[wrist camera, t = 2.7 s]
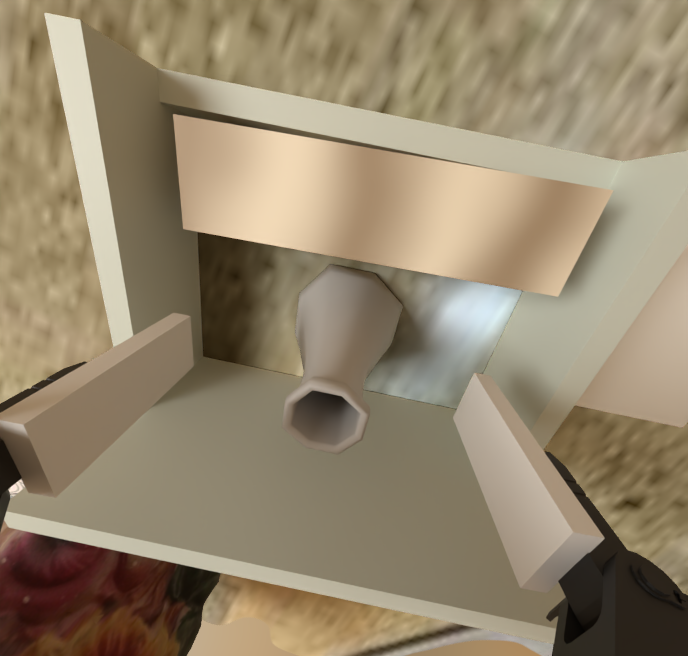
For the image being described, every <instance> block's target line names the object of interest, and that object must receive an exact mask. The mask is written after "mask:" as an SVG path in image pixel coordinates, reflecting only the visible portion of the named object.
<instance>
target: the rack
mask: <svg viewBox="0 0 688 656" xmlns="http://www.w3.org/2000/svg"><path fill="white" fill-rule="evenodd" d="M44 14H45V19H46V24H47V28H48V33H49V38H50V43H51V48H52V52H53V57H54V62H55V67H56V72H57V77H58V81H59V86H60V91H61V96H62V101H63V106H64V110H65V115H66V120H67V125H68V130H69V134H70V139H71V144H72V149H73V154H74V159H75V163H76V168H77V173H78V178H79V183H80V188H81V192H82V197H83V202H84V207H85V212H86V216H87V221H88V226H89V231H90V236H91V241H92V245H93V250H94V255H95V260H96V265H97V270H98V274H99V279H100V284H101V289H102V294H103V298H104V303H105V308H106V313H107V318H108V323H109V327H110V332H111V337H112V342H113V347H115V346H117V345H119V344H120V343H122V342H124V341H126V340H127V339H129V338H131V337H132V336H134V335H136V334H138V333H139V332H141V331H143V330H145V329H146V328H148V327H150V326H151V325H153V324H155V323H157V322H158V321H160V320H162V319H164V318H165V317H167V316H169V315H171V314H172V313H178V314H183V315H188V316H190V317H191V332H192V346H193V361H194V367H193V368H192V369H190V370H189V371H188V372H187V373H186V374H185V375H184V376H183V377H182V378H181V379H180V380H179V381H178V382H177V383H176V384H175V385H174V386H173V387H172V388H171V389H170V390H168V391H167V392H166V393H165V394H164V395H163V396H162V397H161V398H160V399H159V400H158V401H157V402H156V403H155V404H154V405H153V406H152V407H151V408H150V409H149V410H147V411H146V412H145V413H144V414H143V415H142V416H141V417H140V418H139V419H138V420H137V421H136V422H135V423H134V424H133V425H132V426H131V427H130V428H129V429H128V430H127V431H125V432H124V433H123V434H122V435H121V436H120V437H119V438H118V439H117V440H116V441H115V442H114V443H113V444H112V445H111V446H110V447H109V448H108V449H107V450H106V451H105V452H103V453H102V454H101V455H100V456H99V457H98V458H97V459H96V460H95V461H94V462H93V463H92V464H91V465H90V466H89V467H88V468H87V469H86V470H85V471H84V472H82V473H81V474H80V475H79V476H78V477H77V478H76V479H75V480H74V481H73V482H72V483H71V484H70V485H69V486H68V487H67V488H66V489H65V490H64V491H63V492H62V493H60V494H59V495H58V496H57V497H56V498H52V497H47V496H42V495H37V494H32V493H28V491H27V489H26V488H24V489H22V490H21V491H20V492H19V493H17V494H16V495H15V496H14V497H13V498H11V499H10V501H9V505H8V508H7V511H6V515H5V518H4V521H5V522H6V524H7V526H8V527H9V528H13V529H18V530H22V531H27V532H32V533H36V534H41V535H46V536H50V537H55V538H60V539H64V540H69V541H74V542H78V543H83V544H88V545H92V546H97V547H102V548H106V549H111V550H116V551H120V552H125V553H130V554H134V555H139V556H144V557H148V558H153V559H158V560H162V561H167V562H172V563H176V564H181V565H186V566H190V567H195V568H200V569H204V570H209V571H214V572H218V573H223V574H228V575H233V576H237V577H242V578H247V579H251V580H256V581H261V582H265V583H270V584H275V585H279V586H284V587H289V588H293V589H298V590H303V591H307V592H312V593H317V594H321V595H326V596H331V597H335V598H340V599H345V600H349V601H354V602H359V603H363V604H368V605H373V606H377V607H382V608H387V609H391V610H396V611H401V612H405V613H410V614H415V615H419V616H424V617H429V618H433V619H438V620H443V621H447V622H452V623H457V624H461V625H466V626H471V627H475V628H480V629H485V630H489V631H494V632H499V633H503V634H508V635H513V636H517V637H522V638H527V639H531V640H536V641H541V642H545V643H550V644H554V640H555V633H556V627H557V621H558V616H557V617H556V618H554V619H553V620H552V621H551V622H550V621H549V620H548V619H547V618H546V616H547V615H548V613H549V611H551V610H552V609H553V608H554V607H555V606H556V605H557V604H559V603H560V602H561V601H562V600H563V599H564V598H565V597H566V596H565V594H564V592H563V590H562V588H561V586H560V584H559V582H558V583H557V584H556V585H555V586H554V587H553V588H552V589H551V590H550V591H549V592H548V593H543V592H538V591H533V590H527V589H522V588H520V587H519V584H518V581H517V579H516V576H515V574H514V571H513V569H512V566H511V564H510V561H509V559H508V556H507V554H506V551H505V548H504V546H503V543H502V541H501V538H500V536H499V533H498V531H497V528H496V526H495V523H494V521H493V518H492V515H491V513H490V510H489V508H488V505H487V503H486V500H485V498H484V495H483V493H482V490H481V488H480V485H479V482H478V480H477V477H476V475H475V472H474V470H473V467H472V465H471V462H470V460H469V457H468V455H467V452H466V450H465V447H464V444H463V442H462V439H461V437H460V434H459V432H458V429H457V427H456V424H455V422H454V419H453V416H454V414H455V412H456V410H457V409H452V408H447V407H442V406H438V405H433V404H428V403H423V402H418V401H414V400H409V399H404V398H399V397H394V396H390V395H385V394H380V393H375V392H370V391H366V390H363V400H364V401H365V402H366V403H367V404H368V405H369V407H370V416H369V419H368V423H367V426H366V430H365V433H364V436H363V440H361V441H360V442H358V443H356V444H355V445H353V446H351V447H350V448H348V449H346V450H344V451H343V452H341V453H339V454H333V453H328V452H324V451H319V450H314V449H309V448H305V447H304V446H303V445H302V444H301V443H299V442H298V441H297V440H296V439H295V438H293V437H292V436H291V435H290V434H289V433H287V432H286V431H285V430H284V429H282V421H283V413H284V404H285V400H286V397H287V396H288V395H289V394H290V393H291V392H293V391H294V390H295V389H297V388H298V387H299V386H300V384H301V381H302V378H303V377H298V376H294V375H289V374H284V373H279V372H274V371H270V370H265V369H260V368H255V367H250V366H246V365H241V364H236V363H231V362H226V361H222V360H217V359H212V358H207V357H203V341H202V319H201V297H200V275H199V254H198V232H197V231H191V230H186V229H183V221H182V210H181V199H180V187H179V176H178V165H177V153H176V142H175V131H174V120H173V114H176V115H182V116H187V117H193V118H199V119H205V120H211V121H216V122H222V123H228V124H234V125H239V126H245V127H251V128H257V129H263V130H268V131H274V132H280V133H286V134H291V135H297V136H303V137H309V138H315V139H320V140H326V141H332V142H338V143H343V144H349V145H355V146H361V147H367V148H372V149H378V150H384V151H390V152H395V153H401V154H407V155H413V156H419V157H424V158H430V159H436V160H442V161H447V162H453V163H459V164H465V165H471V166H476V167H482V168H488V169H494V170H499V171H505V172H511V173H517V174H523V175H528V176H534V177H540V178H546V179H551V180H557V181H563V182H569V183H575V184H580V185H586V186H592V187H598V188H603V189H609V190H614V191H613V193H612V195H611V197H610V198H609V200H608V202H607V204H606V206H605V208H604V210H603V212H602V214H601V216H600V218H599V219H598V221H597V223H596V225H595V227H594V229H593V231H592V233H591V235H590V237H589V239H588V241H587V242H586V244H585V246H584V248H583V250H582V252H581V254H580V256H579V258H578V260H577V262H576V264H575V265H574V267H573V269H572V271H571V273H570V275H569V277H568V279H567V281H566V283H565V285H564V287H563V288H562V290H561V292H560V294H559V296H558V297H556V296H551V295H545V294H540V293H534V292H529V291H523V292H522V294H521V296H520V298H519V300H518V302H517V304H516V307H515V309H514V311H513V313H512V315H511V317H510V319H509V321H508V323H507V325H506V327H505V329H504V331H503V333H502V335H501V337H500V340H499V342H498V344H497V346H496V348H495V350H494V352H493V354H492V356H491V358H490V360H489V362H488V364H487V366H486V368H485V370H484V373H483V374H485V375H490V376H491V377H492V378H493V380H494V381H495V383H496V384H497V386H498V387H499V388H500V390H501V391H502V393H503V394H504V396H505V397H506V398H507V400H508V401H509V403H510V404H511V406H512V407H513V408H514V410H515V411H516V413H517V414H518V415H519V417H520V418H521V420H522V421H523V423H524V424H525V425H526V427H527V428H528V430H529V431H530V433H531V434H532V435H533V437H534V438H535V440H536V441H537V442H538V444H539V445H540V447H541V448H542V450H544V448H545V447H546V446H547V444H548V443H549V441H550V440H551V438H552V437H553V436H554V434H555V433H556V431H557V430H558V428H559V427H560V426H561V424H562V423H563V421H564V420H565V418H566V417H567V416H568V414H569V413H570V411H571V410H572V408H573V407H574V406H575V404H576V403H577V401H578V400H579V399H580V397H581V396H582V394H583V393H584V391H585V390H586V389H587V387H588V386H589V384H590V383H591V381H592V380H593V379H594V377H595V376H596V374H597V373H598V371H599V370H600V369H601V367H602V366H603V364H604V363H605V361H606V360H607V359H608V357H609V356H610V354H611V353H612V352H613V350H614V349H615V347H616V346H617V344H618V343H619V342H620V340H621V339H622V337H623V336H624V334H625V333H626V332H627V330H628V329H629V327H630V326H631V324H632V323H633V322H634V320H635V319H636V317H637V316H638V315H639V313H640V312H641V310H642V309H643V307H644V306H645V305H646V303H647V302H648V300H649V299H650V297H651V296H652V295H653V293H654V292H655V290H656V289H657V287H658V286H659V285H660V283H661V282H662V280H663V279H664V277H665V276H666V275H667V273H668V272H669V270H670V269H671V268H672V266H673V265H674V263H675V262H676V260H677V259H678V258H679V256H680V255H681V253H682V252H683V250H684V249H685V248H686V246H687V245H688V151H683V152H677V153H671V154H665V155H659V156H653V157H647V158H641V159H635V160H629V161H618V160H613V159H608V158H603V157H598V156H593V155H588V154H583V153H578V152H573V151H568V150H563V149H558V148H553V147H548V146H543V145H538V144H533V143H528V142H523V141H518V140H513V139H508V138H503V137H498V136H493V135H488V134H483V133H478V132H473V131H468V130H463V129H458V128H453V127H448V126H443V125H438V124H434V123H429V122H424V121H419V120H414V119H409V118H404V117H399V116H394V115H389V114H384V113H379V112H374V111H369V110H364V109H359V108H354V107H349V106H344V105H339V104H334V103H329V102H324V101H319V100H314V99H309V98H304V97H299V96H294V95H289V94H284V93H279V92H274V91H269V90H264V89H259V88H254V87H249V86H244V85H239V84H234V83H229V82H224V81H219V80H214V79H209V78H204V77H199V76H194V75H189V74H184V73H179V72H174V71H169V70H164V69H159V68H156V67H155V66H153V65H151V64H150V63H148V62H147V61H145V60H143V59H142V58H140V57H139V56H137V55H135V54H134V53H132V52H131V51H129V50H127V49H126V48H124V47H123V46H121V45H119V44H118V43H116V42H115V41H113V40H112V39H110V38H108V37H107V36H105V35H104V34H102V33H100V32H99V31H97V30H96V29H94V28H92V27H91V26H89V25H88V24H86V23H84V22H83V21H81V20H79V19H74V18H69V17H64V16H59V15H54V14H49V13H44Z"/></svg>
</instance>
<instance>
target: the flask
mask: <svg viewBox="0 0 688 656" xmlns="http://www.w3.org/2000/svg"><path fill="white" fill-rule="evenodd" d="M402 307H403V305H402V304H401V303H400V302H399V301H398V300H397V298H396V297H395V296H394V295H393V294H392V293H391V292H390V290H389V289H388V288H387V287H386V286H385V285H384V283H383V282H382V281H381V280H380V279H379V278H378V277H377V275H376V274H375V273H371V272H366V271H361V270H356V269H351V268H346V267H341V266H337V265H332V264H330V265H329V266H328V267H327V268H326V269H325V270H323V271H322V272H321V273H320V274H319V275H318V276H317V277H316V278H315V279H314V280H313V281H312V282H311V283H310V284H308V285H307V286H306V287H305V288H304V289H303V290H302V291H301V292H300V293H299V301H298V310H297V318H296V327H295V333H296V338H297V341H298V345H299V348H300V353H301V358H302V364H303V369H304V375H303V378H302V381H301V384H300V386H299V387H298V388H297V389H295V390H294V391H293V392H291V393H290V394H289V395H288V396H287V397H286V400H285V404H284V413H283V421H282V429H284V430H285V431H286V432H287V433H289V434H290V435H291V436H292V437H293V438H295V439H296V440H297V441H298V442H299V443H301V444H302V445H303V446H304V447H305V448H309V449H314V450H319V451H324V452H328V453H333V454H339V453H341V452H343V451H344V450H346V449H348V448H350V447H351V446H353V445H355V444H356V443H358V442H360V441H361V440H363V436H364V433H365V430H366V426H367V423H368V419H369V416H370V407H369V405H368V404H367V403H366V402H365V401H364V400H363V386H364V383H365V380H366V378H367V377H368V375H369V374H370V372H371V371H372V370H373V368H374V367H375V365H376V364H377V362H378V361H379V359H380V358H381V357H382V356H383V354H384V353H385V352H386V351H387V350H388V348H389V347H390V345H391V344H392V341H393V338H394V334H395V331H396V328H397V324H398V321H399V318H400V314H401V311H402Z"/></svg>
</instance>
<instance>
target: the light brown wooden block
mask: <svg viewBox="0 0 688 656" xmlns="http://www.w3.org/2000/svg"><path fill="white" fill-rule="evenodd" d="M173 120H174V131H175V142H176V153H177V165H178V176H179V187H180V199H181V210H182V221H183V229H186V230H191V231H197V232H202V233H208V234H213V235H219V236H224V237H230V238H235V239H241V240H246V241H252V242H257V243H263V244H269V245H274V246H280V247H285V248H291V249H296V250H302V251H307V252H313V253H318V254H324V255H329V256H335V257H340V258H346V259H352V260H357V261H363V262H368V263H374V264H379V265H385V266H390V267H396V268H401V269H407V270H412V271H418V272H423V273H429V274H435V275H440V276H446V277H451V278H457V279H462V280H468V281H473V282H479V283H484V284H490V285H495V286H501V287H506V288H512V289H517V290H523V291H529V292H534V293H540V294H545V295H551V296H556V297H558V296H559V294H560V292H561V290H562V288H563V287H564V285H565V283H566V281H567V279H568V277H569V275H570V273H571V271H572V269H573V267H574V265H575V264H576V262H577V260H578V258H579V256H580V254H581V252H582V250H583V248H584V246H585V244H586V242H587V241H588V239H589V237H590V235H591V233H592V231H593V229H594V227H595V225H596V223H597V221H598V219H599V218H600V216H601V214H602V212H603V210H604V208H605V206H606V204H607V202H608V200H609V198H610V197H611V195H612V193H613V191H614V190H609V189H603V188H598V187H592V186H586V185H580V184H575V183H569V182H563V181H557V180H551V179H546V178H540V177H534V176H528V175H523V174H517V173H511V172H505V171H499V170H494V169H488V168H482V167H476V166H471V165H465V164H459V163H453V162H447V161H442V160H436V159H430V158H424V157H419V156H413V155H407V154H401V153H395V152H390V151H384V150H378V149H372V148H367V147H361V146H355V145H349V144H343V143H338V142H332V141H326V140H320V139H315V138H309V137H303V136H297V135H291V134H286V133H280V132H274V131H268V130H263V129H257V128H251V127H245V126H239V125H234V124H228V123H222V122H216V121H211V120H205V119H199V118H193V117H187V116H182V115H176V114H173Z"/></svg>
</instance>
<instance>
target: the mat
mask: <svg viewBox="0 0 688 656" xmlns="http://www.w3.org/2000/svg"><path fill="white" fill-rule="evenodd" d="M575 406H580V407H585V408H589V409H594V410H599V411H604V412H609V413H613V414H618V415H623V416H628V417H633V418H638V419H642V420H647V421H652V422H657V423H662V424H666V425H671V426H676V427H681V428H683V427H684V426H685V424H686V423H687V422H688V245H687V246H686V248H685V249H684V250H683V252H682V253H681V255H680V256H679V258H678V259H677V260H676V262H675V263H674V265H673V266H672V268H671V269H670V270H669V272H668V273H667V275H666V276H665V277H664V279H663V280H662V282H661V283H660V285H659V286H658V287H657V289H656V290H655V292H654V293H653V295H652V296H651V297H650V299H649V300H648V302H647V303H646V305H645V306H644V307H643V309H642V310H641V312H640V313H639V315H638V316H637V317H636V319H635V320H634V322H633V323H632V324H631V326H630V327H629V329H628V330H627V332H626V333H625V334H624V336H623V337H622V339H621V340H620V342H619V343H618V344H617V346H616V347H615V349H614V350H613V352H612V353H611V354H610V356H609V357H608V359H607V360H606V361H605V363H604V364H603V366H602V367H601V369H600V370H599V371H598V373H597V374H596V376H595V377H594V379H593V380H592V381H591V383H590V384H589V386H588V387H587V389H586V390H585V391H584V393H583V394H582V396H581V397H580V399H579V400H578V401H577V403H576V404H575Z"/></svg>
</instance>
